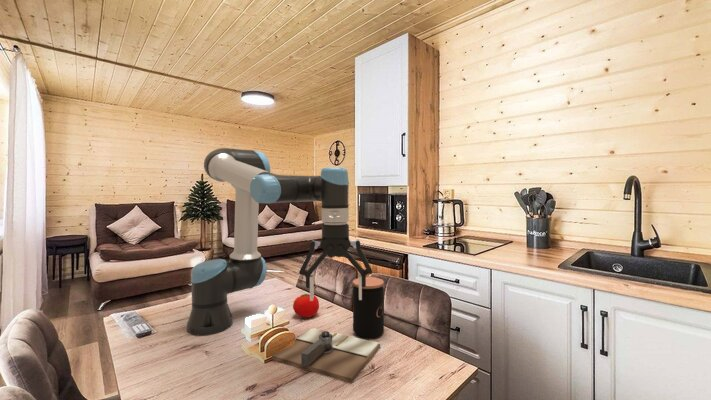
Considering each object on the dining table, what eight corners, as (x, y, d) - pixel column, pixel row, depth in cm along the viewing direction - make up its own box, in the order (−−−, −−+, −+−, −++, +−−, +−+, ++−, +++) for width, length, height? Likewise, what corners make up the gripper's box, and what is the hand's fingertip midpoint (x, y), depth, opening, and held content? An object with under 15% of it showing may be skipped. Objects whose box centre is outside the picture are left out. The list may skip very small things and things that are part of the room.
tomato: (323, 316, 124) (323, 295, 124) (299, 323, 119) (298, 300, 118) (312, 309, 132) (312, 289, 132) (289, 314, 126) (289, 293, 126)
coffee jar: (382, 341, 104) (382, 287, 103) (350, 338, 106) (349, 285, 105) (385, 327, 114) (385, 277, 114) (356, 324, 117) (356, 276, 116)
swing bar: (323, 343, 99) (323, 328, 99) (334, 345, 97) (334, 331, 97) (298, 364, 87) (298, 348, 87) (310, 367, 85) (310, 351, 85)
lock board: (272, 359, 93) (272, 353, 93) (310, 331, 111) (310, 326, 111) (351, 383, 82) (351, 376, 82) (380, 347, 100) (380, 342, 100)
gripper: (287, 225, 85) (289, 304, 85) (381, 224, 85) (381, 302, 86) (292, 222, 92) (294, 294, 93) (378, 221, 93) (379, 293, 93)
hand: (336, 298), depth 89 cm, fingers open, 13 cm apart
